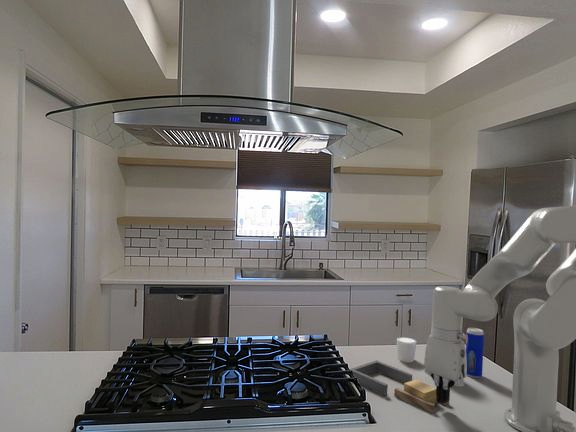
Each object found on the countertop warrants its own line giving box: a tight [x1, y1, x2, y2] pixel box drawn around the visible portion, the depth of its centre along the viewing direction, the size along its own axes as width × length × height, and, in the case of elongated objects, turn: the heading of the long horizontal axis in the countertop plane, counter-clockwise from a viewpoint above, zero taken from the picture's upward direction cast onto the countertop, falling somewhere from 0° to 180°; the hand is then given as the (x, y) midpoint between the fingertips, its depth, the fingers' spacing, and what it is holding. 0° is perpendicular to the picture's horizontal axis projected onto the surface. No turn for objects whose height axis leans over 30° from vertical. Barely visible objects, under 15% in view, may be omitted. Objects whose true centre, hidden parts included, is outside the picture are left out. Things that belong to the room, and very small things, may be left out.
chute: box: [393, 387, 451, 414], centre depth 112 cm, size 12×8×2 cm
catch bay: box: [348, 360, 413, 397], centre depth 123 cm, size 14×13×3 cm
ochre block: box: [403, 379, 437, 404], centre depth 112 cm, size 7×5×4 cm
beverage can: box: [465, 327, 485, 379], centre depth 130 cm, size 5×5×15 cm
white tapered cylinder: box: [396, 336, 418, 363], centre depth 142 cm, size 7×7×7 cm
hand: (442, 401), depth 107 cm, fingers closed
